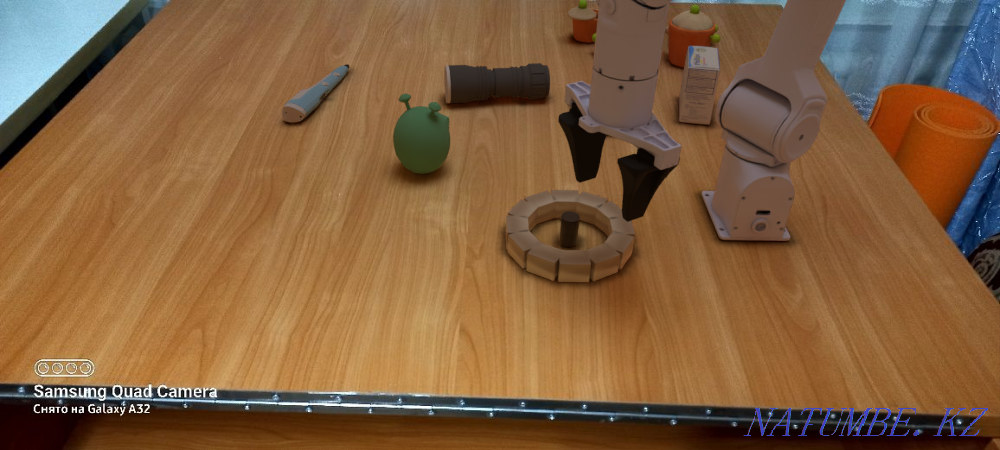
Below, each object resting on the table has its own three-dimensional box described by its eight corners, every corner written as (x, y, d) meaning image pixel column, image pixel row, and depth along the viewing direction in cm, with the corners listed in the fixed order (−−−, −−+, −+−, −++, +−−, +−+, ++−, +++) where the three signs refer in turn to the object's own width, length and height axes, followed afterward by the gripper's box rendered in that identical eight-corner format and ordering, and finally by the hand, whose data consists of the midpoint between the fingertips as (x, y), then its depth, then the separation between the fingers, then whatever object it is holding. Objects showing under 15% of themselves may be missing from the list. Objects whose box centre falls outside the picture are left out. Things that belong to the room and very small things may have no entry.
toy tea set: (712, 37, 132) (723, -17, 127) (724, 73, 120) (736, 15, 114) (566, 28, 134) (570, -26, 129) (562, 63, 122) (567, 5, 116)
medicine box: (709, 126, 105) (721, 69, 100) (677, 122, 106) (687, 65, 101) (708, 102, 111) (719, 47, 106) (678, 98, 112) (687, 44, 107)
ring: (640, 283, 77) (643, 265, 75) (506, 281, 76) (507, 263, 75) (621, 207, 88) (623, 190, 86) (505, 205, 87) (505, 188, 86)
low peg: (577, 247, 81) (580, 221, 79) (559, 247, 81) (562, 221, 79) (576, 236, 83) (578, 211, 81) (558, 236, 83) (560, 210, 81)
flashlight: (544, 88, 114) (546, 55, 110) (551, 104, 109) (554, 70, 106) (444, 93, 111) (443, 59, 108) (447, 109, 107) (447, 74, 104)
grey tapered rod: (302, 126, 102) (299, 107, 100) (281, 123, 103) (278, 104, 101) (357, 70, 117) (355, 53, 116) (338, 68, 118) (336, 51, 116)
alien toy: (463, 161, 95) (462, 90, 90) (433, 190, 90) (430, 116, 84) (416, 148, 98) (413, 78, 92) (384, 175, 92) (378, 102, 86)
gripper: (541, 46, 68) (534, 173, 76) (643, 111, 58) (622, 248, 66) (603, 33, 71) (590, 156, 79) (710, 92, 61) (682, 226, 69)
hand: (608, 197), depth 73 cm, fingers open, 7 cm apart
